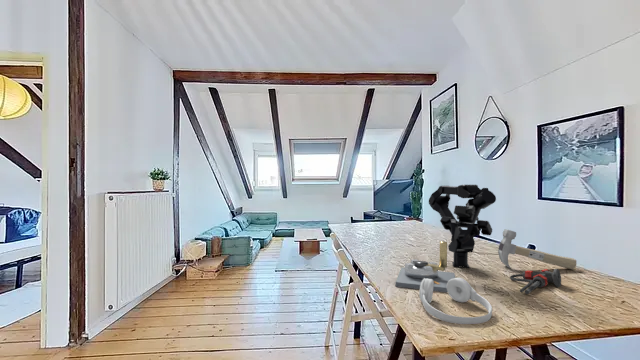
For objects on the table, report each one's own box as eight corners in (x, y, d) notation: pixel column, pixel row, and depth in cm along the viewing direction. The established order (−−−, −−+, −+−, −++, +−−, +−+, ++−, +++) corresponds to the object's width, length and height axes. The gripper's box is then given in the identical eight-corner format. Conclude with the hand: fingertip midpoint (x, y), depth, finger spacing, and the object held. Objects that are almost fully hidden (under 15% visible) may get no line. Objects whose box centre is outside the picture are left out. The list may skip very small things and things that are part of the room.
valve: (521, 279, 130) (566, 282, 119) (495, 297, 113) (545, 303, 102) (518, 263, 131) (563, 265, 119) (492, 278, 114) (541, 283, 102)
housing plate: (401, 271, 133) (401, 266, 133) (454, 276, 126) (454, 272, 126) (395, 286, 114) (395, 281, 114) (457, 293, 107) (457, 288, 107)
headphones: (410, 274, 103) (438, 309, 83) (466, 273, 104) (506, 307, 85) (409, 295, 104) (436, 334, 84) (464, 294, 105) (503, 332, 86)
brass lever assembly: (400, 275, 121) (400, 240, 121) (410, 268, 131) (410, 235, 131) (442, 283, 112) (443, 245, 112) (450, 274, 122) (450, 239, 122)
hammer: (573, 245, 139) (502, 228, 142) (581, 247, 134) (507, 230, 137) (564, 280, 140) (493, 262, 142) (571, 284, 135) (498, 265, 138)
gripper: (442, 197, 135) (427, 225, 128) (489, 199, 121) (475, 232, 114) (452, 214, 140) (438, 243, 133) (497, 219, 126) (485, 251, 119)
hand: (457, 242), depth 124 cm, fingers open, 4 cm apart
